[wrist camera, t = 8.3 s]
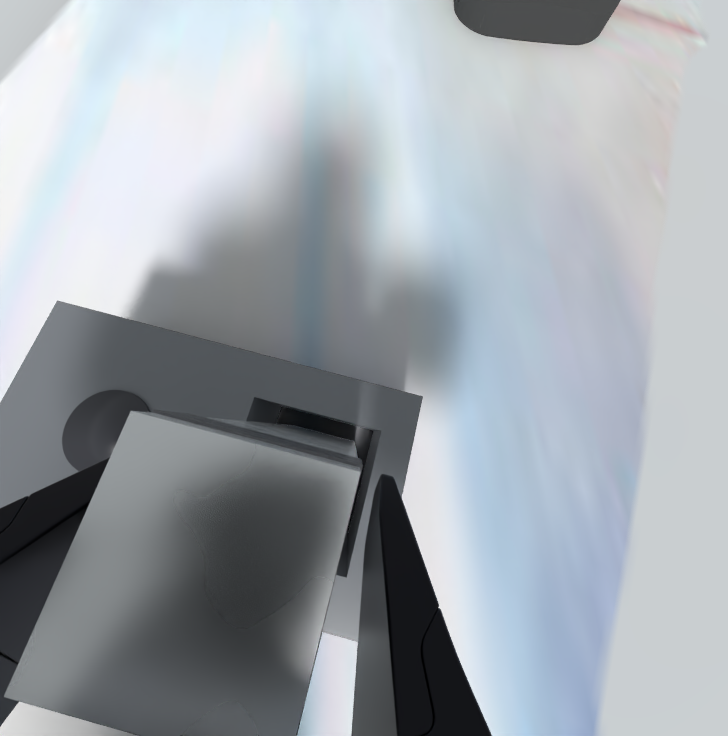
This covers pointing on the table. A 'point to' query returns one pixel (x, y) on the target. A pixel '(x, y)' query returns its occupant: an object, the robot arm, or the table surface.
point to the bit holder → (186, 395)
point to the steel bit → (196, 580)
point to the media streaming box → (537, 19)
